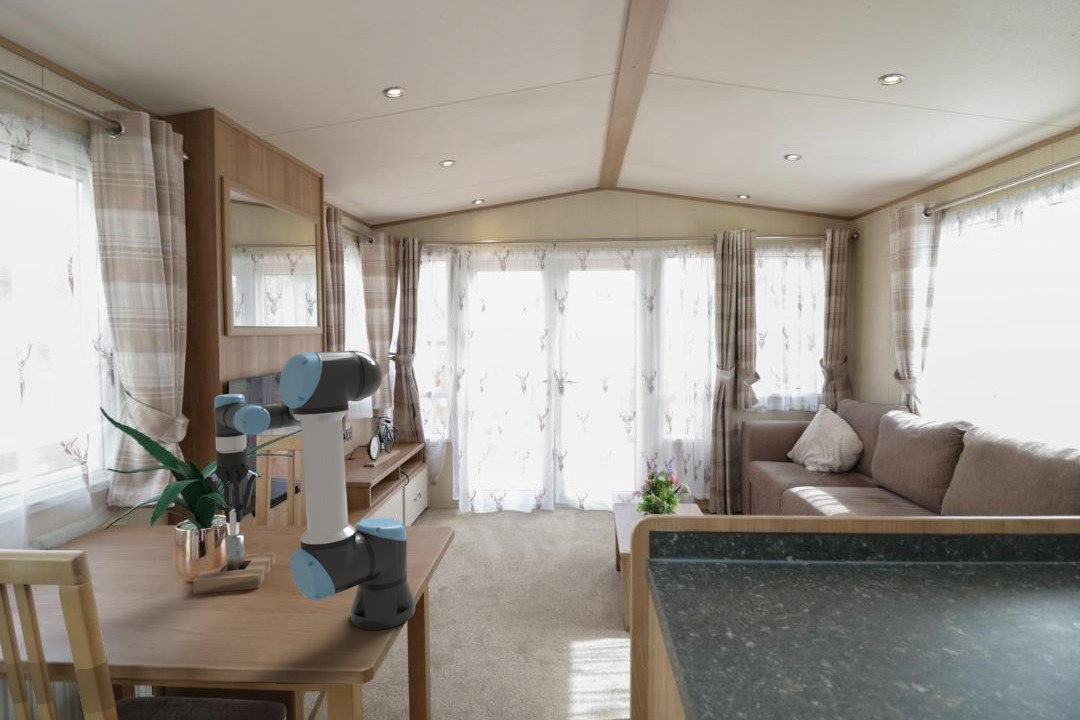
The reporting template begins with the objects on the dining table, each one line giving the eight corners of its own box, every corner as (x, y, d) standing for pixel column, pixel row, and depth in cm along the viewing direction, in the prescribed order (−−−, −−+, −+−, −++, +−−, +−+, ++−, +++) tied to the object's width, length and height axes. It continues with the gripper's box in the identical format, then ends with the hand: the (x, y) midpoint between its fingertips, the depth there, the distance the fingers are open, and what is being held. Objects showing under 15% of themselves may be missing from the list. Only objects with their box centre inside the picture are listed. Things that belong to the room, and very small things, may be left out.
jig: (258, 588, 152) (258, 575, 152) (193, 593, 149) (193, 580, 149) (274, 563, 168) (274, 552, 168) (215, 568, 165) (215, 556, 164)
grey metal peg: (242, 580, 157) (241, 538, 156) (225, 582, 156) (223, 539, 155) (247, 573, 161) (246, 532, 160) (230, 575, 160) (229, 533, 159)
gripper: (260, 446, 161) (263, 527, 163) (210, 448, 159) (214, 530, 160) (252, 451, 154) (255, 536, 155) (200, 454, 151) (204, 540, 153)
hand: (234, 533), depth 158 cm, fingers closed
